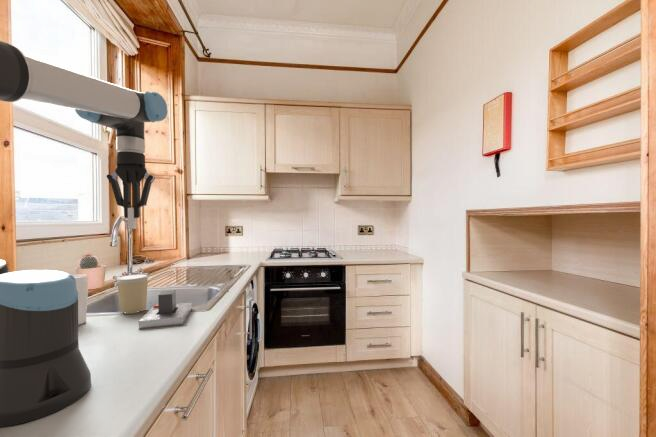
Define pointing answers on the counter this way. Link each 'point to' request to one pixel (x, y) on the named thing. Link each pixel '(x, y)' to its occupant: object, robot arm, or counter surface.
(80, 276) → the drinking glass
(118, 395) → the counter surface
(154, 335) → the counter surface
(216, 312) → the counter surface
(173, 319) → the socket plate
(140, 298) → the coffee cup
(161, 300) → the plug
